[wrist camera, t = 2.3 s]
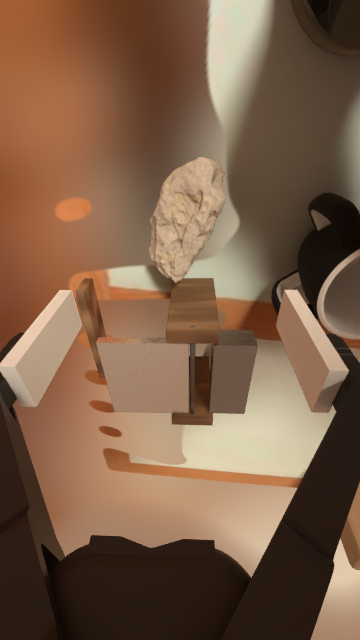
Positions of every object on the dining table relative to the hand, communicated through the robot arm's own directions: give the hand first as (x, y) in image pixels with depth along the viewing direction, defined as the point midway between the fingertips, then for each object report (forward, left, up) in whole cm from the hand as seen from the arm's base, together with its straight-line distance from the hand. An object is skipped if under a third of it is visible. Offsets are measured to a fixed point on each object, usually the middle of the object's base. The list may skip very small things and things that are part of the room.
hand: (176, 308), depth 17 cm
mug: (+5, +20, -22) cm, 30 cm away
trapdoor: (+18, -1, -13) cm, 22 cm away
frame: (+18, -6, -22) cm, 29 cm away
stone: (0, 0, -22) cm, 22 cm away
